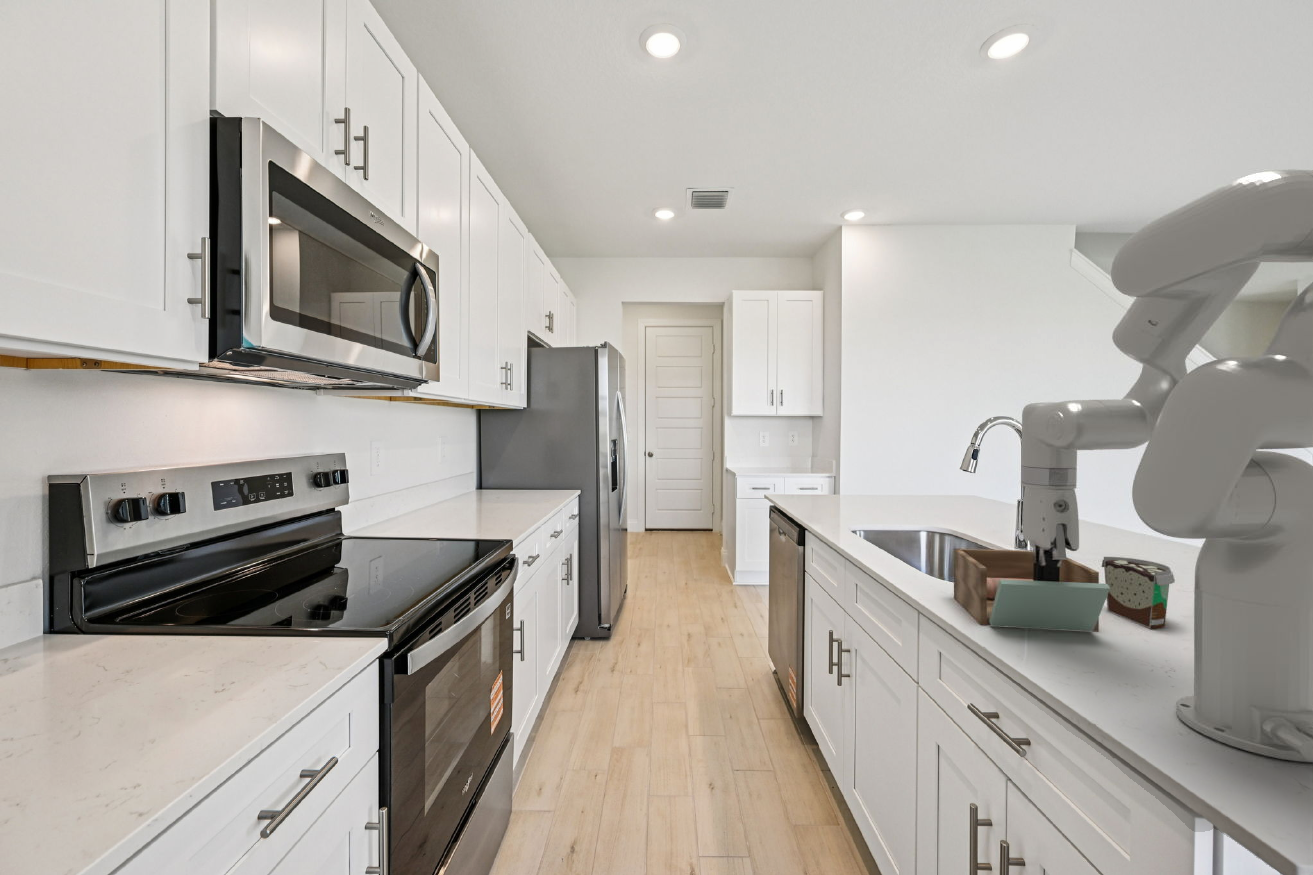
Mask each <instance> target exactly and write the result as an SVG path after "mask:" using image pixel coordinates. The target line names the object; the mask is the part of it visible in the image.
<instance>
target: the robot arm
mask: <svg viewBox="0 0 1313 875" xmlns="http://www.w3.org/2000/svg"><path fill="white" fill-rule="evenodd" d="M1111 263H1112V264H1111V270H1110V277H1111V278H1110V279H1111V281H1112V284H1113V287H1114V288H1116V290H1117V291H1119V293H1121V294H1123V295H1125V296H1128V297H1133V298H1135V299H1134V301H1133V302H1132V303H1131V305H1130V306H1129V308H1128V310H1127V311H1126V313H1125V314H1124V315H1123V316H1122V318H1121V320H1120V321H1119V323H1118V324H1116V326H1115V328H1114V329H1113V331H1112V335H1111V336H1112V337H1111V338H1112V342H1113V345H1115V347H1116V348H1117V349H1118V350H1119V351H1120V352H1121V353H1123V354H1124V355H1125V356H1127V357H1128V358H1130V359H1132V360H1134V361H1136V362H1137V363H1140V364H1142V367H1141V368H1142V369H1141V373H1140V374H1139V377H1138V379H1137V380H1136V382H1135V383H1134V384H1133V385H1132V387H1131V388H1130V389H1129V391H1128V392H1127V393H1126V394H1125V395H1124V397H1123V398H1121V399H1082V400H1081V399H1077V400H1075V399H1074V400H1063V401H1057V402H1056V401H1055V402H1054V401H1053V402H1049V401H1048V402H1033V403H1029V404H1027V405H1025V406H1024V407H1023V409H1022V413H1021V451H1020V452H1021V454H1020V455H1021V461H1020V465H1021V466H1020V486H1022V487H1024V492H1023V500H1022V514H1021V516H1022V517H1021V519H1022V520H1021V525H1022V526H1021V529H1022V532H1021V533H1022V536H1023V538H1024V539H1025V540H1026V541H1028V542H1029V546H1030V547H1031V549H1032V550H1031V551H1033V561H1034V562H1037V563H1034V571H1033V581H1050V582H1059V576H1060V566H1061V560H1066V557H1067V553H1066V552H1067V550H1069V551H1070V552H1076V551H1078V550H1079V549H1080V524H1079V523H1080V522H1079V521H1080V520H1079V509H1078V508H1079V507H1078V501H1077V500H1078V498H1077V495H1076V489H1077V480H1078V478H1077V476H1078V474H1077V473H1078V472H1077V470H1078V468H1077V466H1078V451H1095V450H1096V451H1097V450H1099V451H1101V450H1102V451H1103V450H1104V451H1105V450H1106V451H1107V450H1131V449H1134V448H1138V447H1140V446H1142V445H1145V444H1146V443H1147V445H1146V447H1145V450H1144V451H1143V454H1142V456H1141V458H1140V462H1139V464H1138V467H1137V469H1136V472H1135V474H1134V478H1133V482H1132V489H1131V491H1132V492H1131V494H1132V495H1131V496H1132V503H1133V507H1134V509H1135V510H1134V511H1135V512H1136V514H1137V516H1138V517H1139V519H1140V520H1141V521H1142V523H1144V524H1145V525H1146V526H1147V527H1148V528H1149V529H1151V530H1152V531H1153V532H1156V533H1158V534H1161V535H1163V536H1166V537H1171V538H1177V539H1192V540H1194V539H1196V540H1200V539H1201V540H1202V539H1204V542H1203V544H1202V546H1201V548H1200V550H1199V553H1198V555H1197V558H1196V561H1195V562H1196V563H1195V568H1194V589H1193V590H1194V591H1193V592H1194V593H1193V594H1194V596H1193V597H1194V598H1193V600H1194V601H1193V602H1194V603H1193V604H1194V605H1193V607H1194V608H1193V609H1194V610H1193V612H1194V613H1193V619H1194V620H1193V621H1194V622H1193V624H1194V625H1193V627H1194V628H1193V629H1194V630H1193V631H1194V633H1193V639H1194V641H1193V647H1194V648H1193V695H1189V696H1185V697H1181V698H1179V699H1178V700H1177V701H1176V704H1175V711H1176V714H1177V717H1178V718H1179V719H1180V720H1181V721H1182V722H1183V723H1184V724H1186V725H1187V726H1189V727H1190V728H1192V729H1193V730H1195V731H1196V732H1198V733H1200V734H1202V735H1204V736H1206V737H1209V738H1210V739H1213V740H1215V741H1218V742H1220V743H1222V744H1226V745H1228V746H1231V747H1233V748H1237V749H1239V750H1243V751H1246V752H1251V753H1254V754H1257V755H1261V756H1265V757H1269V758H1270V757H1271V758H1274V759H1279V760H1285V761H1286V760H1287V761H1291V762H1292V761H1293V762H1301V763H1303V762H1304V763H1313V465H1312V464H1311V463H1310V462H1307V461H1306V460H1303V459H1301V458H1300V457H1297V456H1294V455H1291V454H1288V453H1281V452H1277V451H1269V450H1286V449H1287V450H1290V449H1291V450H1292V449H1307V448H1309V449H1310V448H1313V281H1312V282H1311V283H1309V284H1308V286H1307V287H1305V288H1304V289H1303V290H1302V291H1301V292H1300V293H1299V294H1298V295H1297V296H1296V297H1295V298H1294V299H1293V301H1291V303H1290V304H1289V305H1288V307H1287V308H1286V309H1285V311H1284V312H1283V314H1282V316H1281V318H1280V321H1279V323H1278V325H1277V328H1276V330H1275V332H1274V334H1273V336H1272V338H1271V340H1270V342H1268V345H1267V346H1266V347H1265V349H1264V351H1263V352H1262V353H1261V354H1260V355H1259V356H1236V357H1225V358H1219V359H1215V360H1211V361H1208V362H1206V363H1203V364H1201V365H1199V366H1197V367H1195V368H1194V369H1192V370H1191V371H1189V372H1188V370H1187V369H1188V368H1187V365H1186V364H1187V363H1186V360H1187V358H1188V356H1189V355H1190V353H1192V351H1193V350H1194V348H1195V347H1196V346H1197V345H1198V344H1199V342H1200V341H1201V340H1202V339H1203V337H1204V336H1205V334H1207V333H1208V331H1209V330H1210V329H1211V327H1212V326H1213V325H1214V324H1215V322H1216V321H1217V320H1218V319H1219V318H1220V317H1221V316H1222V314H1223V313H1224V312H1225V310H1226V309H1227V308H1228V307H1229V306H1230V304H1231V303H1232V302H1233V301H1234V299H1235V298H1237V296H1238V295H1239V293H1240V292H1241V291H1242V290H1243V288H1244V287H1245V286H1246V285H1247V284H1248V282H1249V281H1250V280H1251V279H1252V277H1253V276H1254V275H1255V273H1256V271H1258V268H1259V267H1260V264H1261V263H1313V169H1274V170H1266V171H1262V172H1261V171H1260V172H1257V173H1252V174H1249V175H1246V176H1243V177H1239V178H1237V179H1235V180H1233V181H1230V182H1229V183H1226V184H1224V185H1222V186H1220V187H1218V188H1216V189H1213V190H1211V191H1210V192H1208V193H1206V194H1203V195H1202V196H1200V197H1198V198H1196V199H1193V200H1191V201H1190V202H1188V203H1186V204H1184V205H1182V206H1180V207H1178V208H1175V209H1174V210H1172V211H1169V212H1168V213H1166V214H1164V215H1162V216H1160V217H1158V218H1156V219H1154V220H1153V221H1151V222H1149V223H1147V224H1146V225H1144V226H1142V227H1141V228H1140V229H1138V230H1137V231H1135V232H1134V233H1133V234H1132V235H1130V236H1129V238H1128V239H1127V240H1125V242H1124V243H1123V244H1122V245H1121V247H1120V248H1119V249H1118V251H1117V252H1116V255H1115V256H1114V258H1113V260H1112V262H1111Z"/></svg>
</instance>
